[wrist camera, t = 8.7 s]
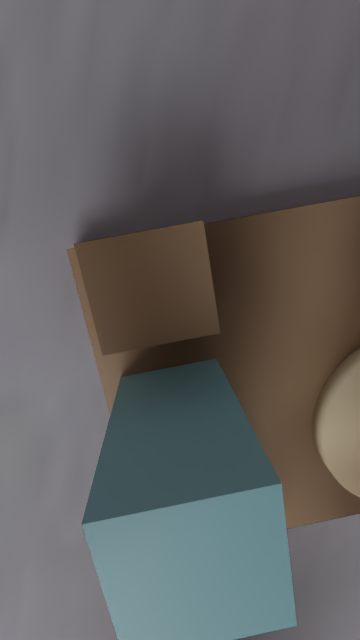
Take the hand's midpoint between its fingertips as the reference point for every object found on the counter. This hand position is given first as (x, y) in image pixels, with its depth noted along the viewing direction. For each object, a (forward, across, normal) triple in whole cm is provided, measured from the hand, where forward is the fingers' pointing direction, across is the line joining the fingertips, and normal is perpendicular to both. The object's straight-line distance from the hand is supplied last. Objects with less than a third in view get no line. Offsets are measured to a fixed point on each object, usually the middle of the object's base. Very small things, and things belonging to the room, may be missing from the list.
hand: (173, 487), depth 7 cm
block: (+5, 0, +1) cm, 5 cm away
